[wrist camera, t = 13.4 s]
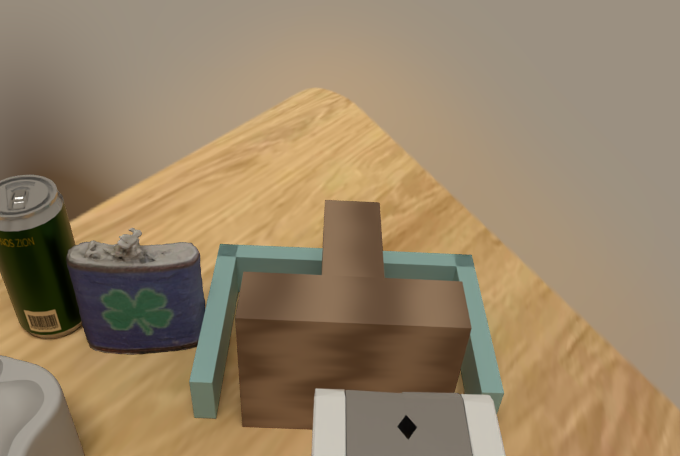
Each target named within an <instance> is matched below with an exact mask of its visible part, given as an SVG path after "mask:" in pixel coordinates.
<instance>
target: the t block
mask: <svg viewBox="0 0 680 456" xmlns="http://www.w3.org/2000/svg"><path fill="white" fill-rule="evenodd" d="M235 322H236V337H237V352H238V367H239V382H240V397H241V412H242V426H243V427H262V428H289V429H313V412H314V395H315V389H316V388H317V389H344V390H358V391H376V392H394V393H402V392H432V393H454V391H455V388H456V384H457V380H458V377H459V373H460V369H461V366H462V362H463V358H464V355H465V351H466V347H467V344H468V340H469V336H470V333H471V329H472V327H471V322H470V317H469V312H468V307H467V302H466V297H465V292H464V287H463V282H462V281H443V280H420V279H398V278H385V276H384V261H383V246H382V232H381V217H380V203H378V202H357V201H336V200H325V212H324V231H323V251H322V270H321V275H309V274H287V273H264V272H243V277H242V283H241V288H240V294H239V300H238V305H237V311H236V317H235Z"/></svg>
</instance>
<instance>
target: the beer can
mask: <svg viewBox="0 0 680 456" xmlns="http://www.w3.org/2000/svg"><path fill="white" fill-rule="evenodd" d="M73 246H75V241H74V238H73V234H72V230H71V226H70V223H69V219H68V215H67V212H66V208H65V204H64V200H63V196H62V195H61V194H60V193H59V192H58V191H57V188H56V185H55V184H54V183H53V182H52V181H51V180H50V179H47V178H45V177H43V176H37V175H20V176H14V177H9V178H7V179H4V180H1V181H0V273H1V275H2V278H3V281H4V283H5V286H6V289H7V291H8V294H9V296H10V299H11V302H12V304H13V307H14V310H15V312H16V315H17V318H18V320H19V323H20V324H21V326H22V327H23V328H24V329H25V330H26V331H28V332H29V333H31V334H33V335H34V336H36V337H40V338H45V339H48V338H58V337H62V336H65V335H68V334H70V333H72V332H74V331H75V330H76V329H78V328H79V327H80V326H81V325H82V321H81V316H80V313H79V307H78V303H77V300H76V295H75V292H74V288H73V284H72V281H71V277H70V273H69V270H68V267H67V261H66V257H67V254H68V250H69V249H70V248H72V247H73Z"/></svg>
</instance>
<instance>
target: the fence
mask: <svg viewBox="0 0 680 456" xmlns="http://www.w3.org/2000/svg"><path fill="white" fill-rule="evenodd" d="M322 251H323V248H300V247H277V246H254V245H230V244H220V247H219V251H218V256H217V260H216V265H215V269H214V273H213V278H212V282H211V287H210V291H209V296H208V300H207V305H206V309H205V314H204V318H203V323H202V327H201V332H200V336H199V341H198V345H197V350H196V354H195V359H194V363H193V368H192V372H191V377H190V381H189V383H190V390H191V397H192V404H193V411H194V418H216V416H217V410H218V405H219V399H220V393H221V387H222V382H223V376H224V370H225V364H226V359H227V353H228V347H229V341H230V336H231V330H232V324H233V318H234V313H235V307H236V301H237V296H238V292H240V288H241V283H242V277H243V272H264V273H287V274H309V275H321V270H322ZM383 261H384V276H385V278H398V279H420V280H443V281H462V282H463V287H464V292H465V297H466V302H467V307H468V312H469V317H470V322H471V327H472V329H471V333H470V336H469V340H468V344H467V347H466V351H465V355H464V358H463V362H462V366H461V374H462V379H463V385H464V391H465V394H483V395H490V396H491V398H492V400H493V401H494V406H495V410H496V415H497V412H498V409H499V406H500V403H501V401H502V398H503V395H504V391H503V387H502V382H501V378H500V374H499V370H498V365H497V361H496V357H495V352H494V348H493V344H492V340H491V335H490V331H489V327H488V323H487V318H486V314H485V310H484V306H483V301H482V297H481V293H480V289H479V284H478V280H477V276H476V272H475V267H474V263H473V259H472V255H462V254H439V253H416V252H393V251H383Z"/></svg>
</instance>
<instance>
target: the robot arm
mask: <svg viewBox="0 0 680 456" xmlns="http://www.w3.org/2000/svg"><path fill="white" fill-rule="evenodd" d="M311 456H506V455H505V451H504V446H503V442H502V437H501V433H500V428H499V424H498V419H497V415H496V410H495V406H494V401H493V400H492V398H491V396H490V395H483V394H459V393H432V392H402V393H394V392H376V391H358V390H344V389H317V388H316V389H315V395H314V412H313V432H312V453H311Z"/></svg>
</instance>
